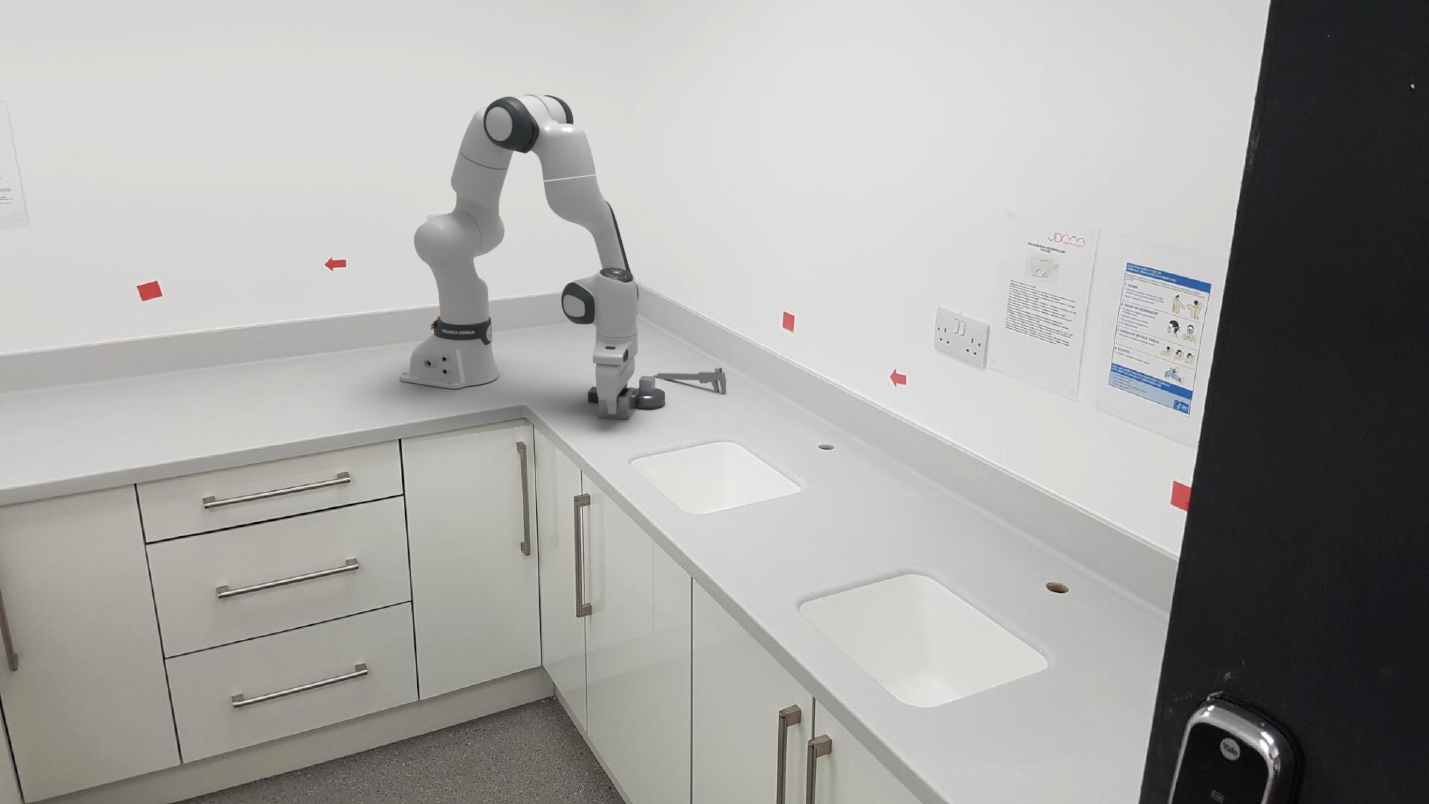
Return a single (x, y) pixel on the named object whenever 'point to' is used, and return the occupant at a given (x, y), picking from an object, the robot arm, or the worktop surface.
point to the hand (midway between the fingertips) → (617, 406)
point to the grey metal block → (620, 405)
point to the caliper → (699, 378)
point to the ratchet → (640, 395)
